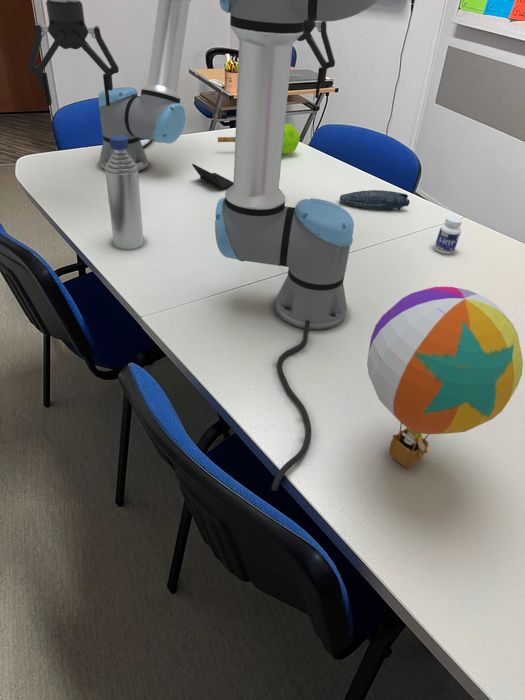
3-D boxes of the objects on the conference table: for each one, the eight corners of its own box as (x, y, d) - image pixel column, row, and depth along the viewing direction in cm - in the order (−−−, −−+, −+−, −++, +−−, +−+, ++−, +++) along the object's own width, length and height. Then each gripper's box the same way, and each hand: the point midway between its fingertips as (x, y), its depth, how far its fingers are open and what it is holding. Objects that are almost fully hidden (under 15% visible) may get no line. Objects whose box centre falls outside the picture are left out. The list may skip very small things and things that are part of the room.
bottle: (110, 238, 132) (98, 135, 116) (139, 234, 134) (131, 133, 119) (117, 251, 127) (105, 145, 111) (146, 247, 129) (139, 143, 114)
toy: (317, 448, 82) (351, 286, 63) (393, 397, 93) (442, 246, 74) (418, 536, 71) (496, 372, 52) (491, 467, 82) (578, 310, 63)
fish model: (408, 214, 157) (412, 198, 153) (339, 207, 158) (341, 191, 154) (406, 206, 162) (410, 190, 159) (339, 199, 163) (341, 183, 160)
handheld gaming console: (239, 179, 164) (224, 157, 156) (229, 197, 163) (213, 176, 155) (213, 174, 171) (197, 153, 162) (202, 192, 169) (186, 171, 161)
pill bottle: (433, 251, 139) (442, 220, 133) (435, 243, 143) (444, 213, 137) (453, 256, 138) (464, 225, 132) (454, 247, 142) (465, 217, 136)
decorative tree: (215, 117, 188) (295, 117, 193) (215, 147, 195) (292, 146, 200) (221, 131, 174) (307, 131, 180) (221, 163, 181) (304, 161, 186)
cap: (108, 145, 117) (107, 135, 115) (126, 144, 118) (125, 134, 117) (112, 150, 114) (111, 141, 113) (130, 149, 115) (129, 139, 114)
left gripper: (-2, -2, 107) (22, 108, 121) (122, 4, 113) (132, 108, 126) (4, -6, 113) (26, 99, 126) (122, 0, 118) (131, 100, 132)
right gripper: (354, -3, 121) (339, 96, 134) (249, -14, 123) (245, 85, 136) (354, 0, 115) (338, 103, 129) (244, -11, 117) (239, 91, 130)
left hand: (79, 104), depth 126 cm, fingers open, 13 cm apart
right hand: (290, 94), depth 132 cm, fingers open, 13 cm apart
